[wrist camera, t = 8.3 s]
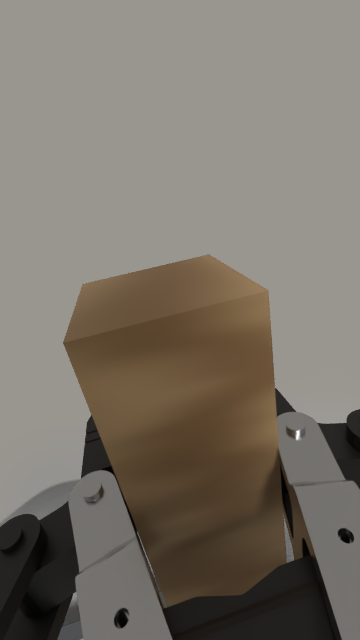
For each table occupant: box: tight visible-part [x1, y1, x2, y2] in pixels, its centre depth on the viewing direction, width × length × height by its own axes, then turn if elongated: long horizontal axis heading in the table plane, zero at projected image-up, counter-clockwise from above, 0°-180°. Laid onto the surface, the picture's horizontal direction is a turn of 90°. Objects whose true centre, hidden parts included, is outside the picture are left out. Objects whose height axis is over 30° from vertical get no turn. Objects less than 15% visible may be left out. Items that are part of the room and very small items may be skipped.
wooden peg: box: [63, 255, 287, 607], centre depth 10 cm, size 4×4×14 cm
